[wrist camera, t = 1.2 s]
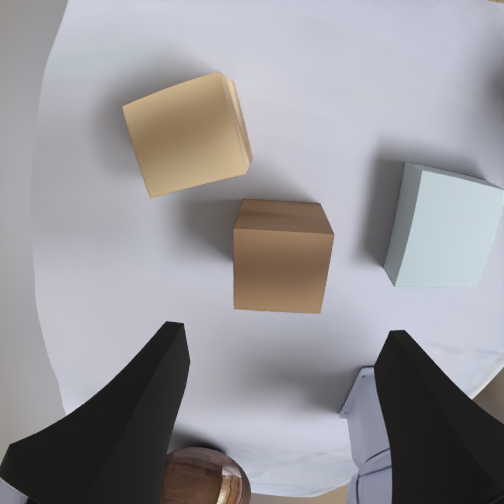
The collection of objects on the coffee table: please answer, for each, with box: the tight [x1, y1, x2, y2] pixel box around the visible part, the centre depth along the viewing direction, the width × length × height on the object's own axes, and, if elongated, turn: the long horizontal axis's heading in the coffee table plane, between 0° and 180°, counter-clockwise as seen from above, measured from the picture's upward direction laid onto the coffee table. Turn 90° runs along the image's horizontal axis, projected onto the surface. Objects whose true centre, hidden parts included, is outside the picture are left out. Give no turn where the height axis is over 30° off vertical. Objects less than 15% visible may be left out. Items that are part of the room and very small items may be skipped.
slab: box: [383, 162, 504, 288], centre depth 17 cm, size 8×8×3 cm
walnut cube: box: [233, 199, 334, 314], centre depth 18 cm, size 5×5×5 cm
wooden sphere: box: [160, 447, 251, 504], centre depth 31 cm, size 15×15×15 cm
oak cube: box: [122, 72, 253, 199], centre depth 15 cm, size 5×5×5 cm
